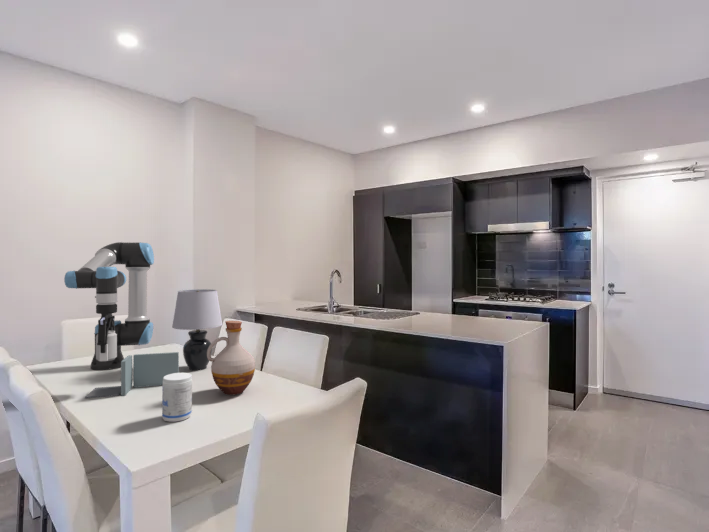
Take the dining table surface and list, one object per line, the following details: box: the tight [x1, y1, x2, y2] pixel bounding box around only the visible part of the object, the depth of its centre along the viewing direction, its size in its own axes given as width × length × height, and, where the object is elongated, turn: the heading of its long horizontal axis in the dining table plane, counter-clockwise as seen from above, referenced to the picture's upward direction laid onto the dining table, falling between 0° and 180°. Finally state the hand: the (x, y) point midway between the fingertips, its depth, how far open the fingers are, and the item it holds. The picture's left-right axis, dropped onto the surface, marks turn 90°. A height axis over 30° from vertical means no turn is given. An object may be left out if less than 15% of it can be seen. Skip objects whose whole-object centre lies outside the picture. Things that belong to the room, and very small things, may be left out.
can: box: [96, 330, 117, 361], centre depth 168 cm, size 8×8×12 cm
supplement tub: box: [161, 372, 193, 423], centre depth 141 cm, size 10×10×15 cm
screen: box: [120, 351, 180, 397], centre depth 172 cm, size 13×20×14 cm, turn 106°
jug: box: [207, 320, 256, 396], centre depth 169 cm, size 20×18×30 cm
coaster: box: [84, 385, 121, 399], centre depth 168 cm, size 12×12×1 cm
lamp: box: [172, 288, 223, 372], centre depth 206 cm, size 24×24×40 cm
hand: (106, 358), depth 168 cm, fingers closed on can, 7 cm apart
